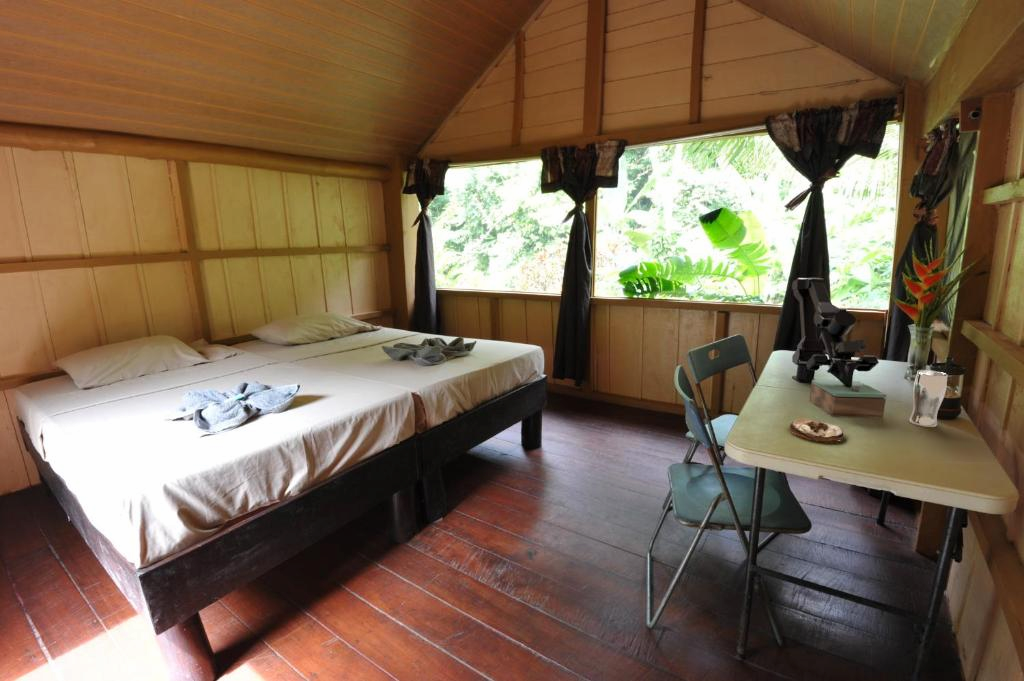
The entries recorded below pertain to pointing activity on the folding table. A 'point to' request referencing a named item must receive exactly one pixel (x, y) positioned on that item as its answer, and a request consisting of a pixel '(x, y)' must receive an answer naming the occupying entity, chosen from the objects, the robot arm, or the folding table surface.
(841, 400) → the walnut box
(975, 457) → the folding table surface
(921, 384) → the beer glass
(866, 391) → the lid
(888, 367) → the folding table surface
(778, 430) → the folding table surface
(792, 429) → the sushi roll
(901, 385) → the folding table surface
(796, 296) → the robot arm
